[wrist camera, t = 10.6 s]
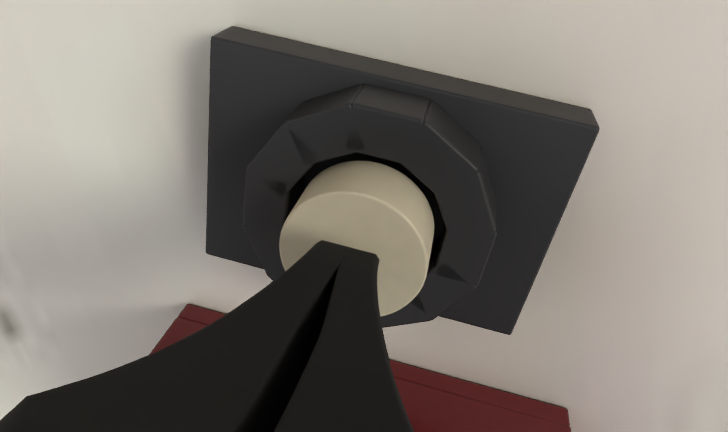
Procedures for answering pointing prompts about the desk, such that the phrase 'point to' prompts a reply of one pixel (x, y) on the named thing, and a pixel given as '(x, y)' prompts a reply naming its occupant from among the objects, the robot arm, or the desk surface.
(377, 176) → the button
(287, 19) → the desk surface
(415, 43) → the desk surface
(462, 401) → the dark red open box
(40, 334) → the desk surface
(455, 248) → the control block
